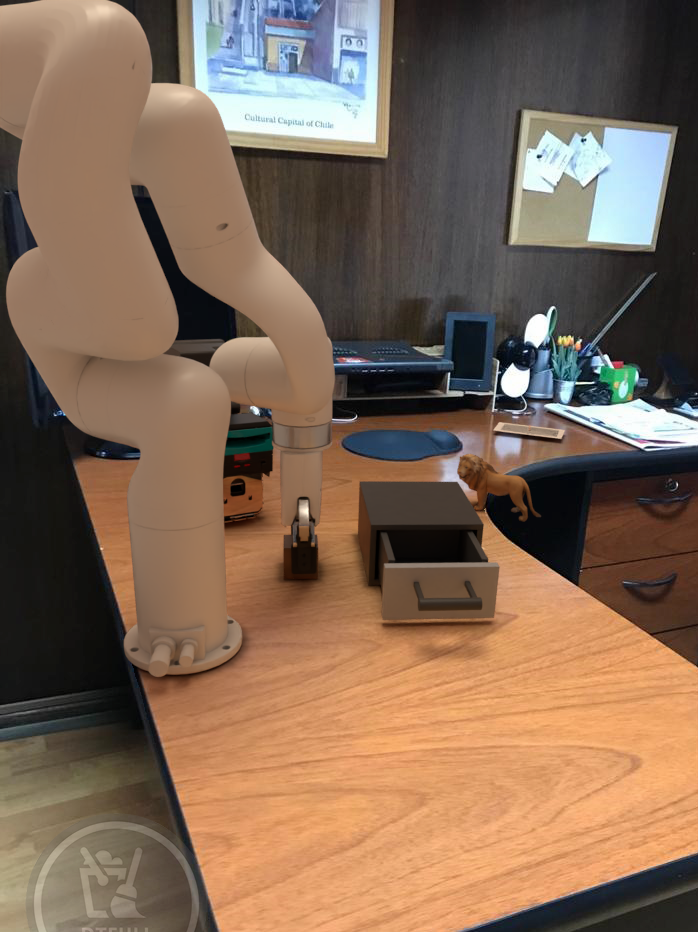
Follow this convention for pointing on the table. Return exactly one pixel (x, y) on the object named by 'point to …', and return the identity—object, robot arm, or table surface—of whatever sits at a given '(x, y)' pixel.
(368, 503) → the cabinet
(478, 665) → the table surface
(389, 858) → the table surface
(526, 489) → the lion figurine
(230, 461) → the bill acceptor
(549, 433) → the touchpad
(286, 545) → the block
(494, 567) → the drawer
